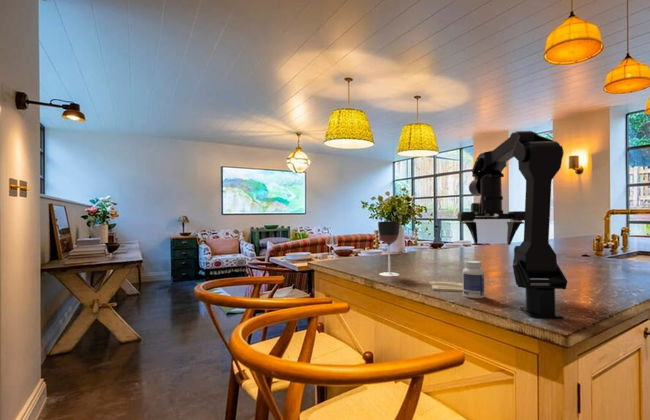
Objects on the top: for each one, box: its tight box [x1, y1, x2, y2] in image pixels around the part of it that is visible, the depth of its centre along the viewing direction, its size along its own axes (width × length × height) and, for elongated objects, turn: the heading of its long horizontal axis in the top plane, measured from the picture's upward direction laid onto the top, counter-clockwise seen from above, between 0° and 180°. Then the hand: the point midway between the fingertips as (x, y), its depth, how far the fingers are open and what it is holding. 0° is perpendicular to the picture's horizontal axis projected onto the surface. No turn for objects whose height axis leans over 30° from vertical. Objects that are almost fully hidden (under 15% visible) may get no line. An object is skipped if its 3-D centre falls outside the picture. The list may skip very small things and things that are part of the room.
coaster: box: [428, 281, 463, 293], centre depth 101 cm, size 10×10×1 cm
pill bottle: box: [462, 260, 485, 299], centre depth 90 cm, size 5×5×10 cm
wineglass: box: [377, 221, 400, 277], centre depth 123 cm, size 8×9×20 cm
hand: (492, 244), depth 98 cm, fingers open, 9 cm apart
